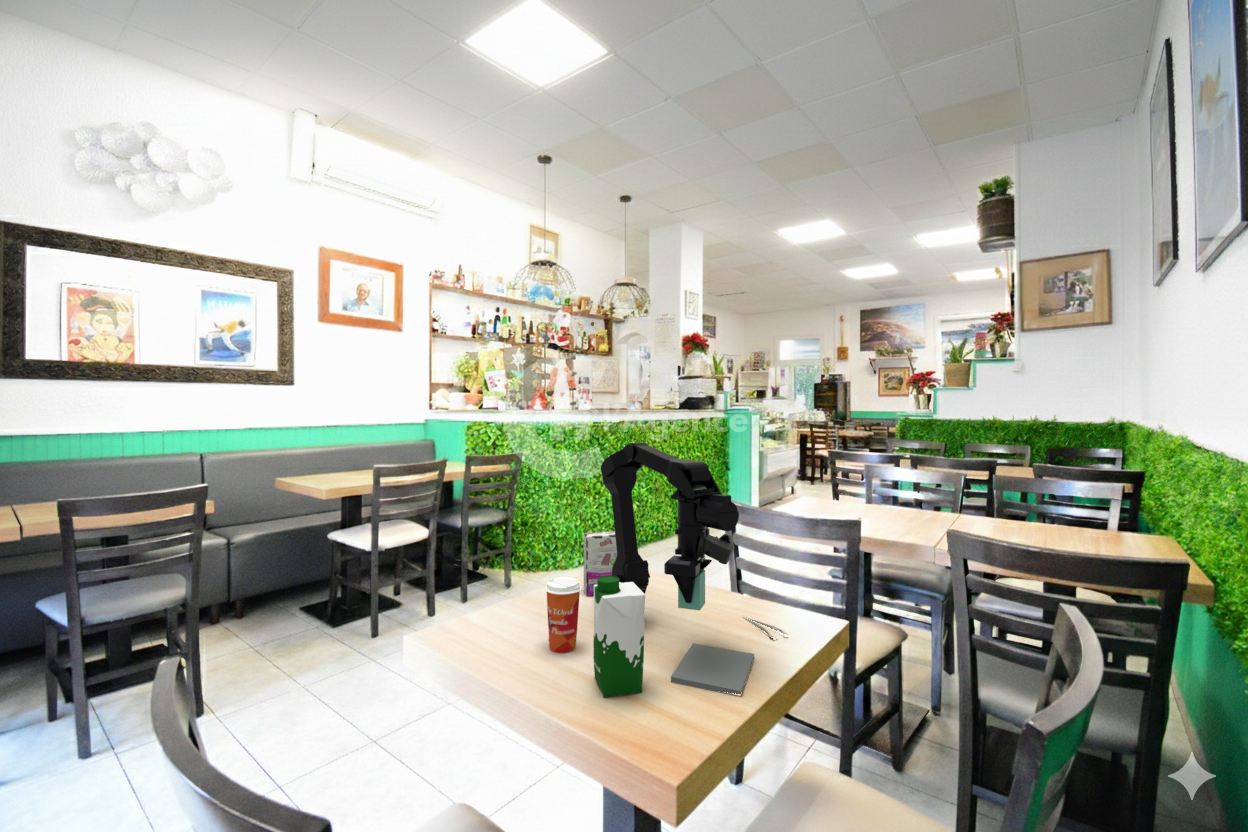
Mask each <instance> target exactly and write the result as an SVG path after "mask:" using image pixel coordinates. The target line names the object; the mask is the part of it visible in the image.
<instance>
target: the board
mask: <svg viewBox="0 0 1248 832" xmlns="http://www.w3.org/2000/svg"><path fill="white" fill-rule="evenodd" d="M753 660H754V661H755V653H751V652H748V651H747V652H746V651H741V650H735V649H728V648H724V647H718V646H712V645H708V644H707V645H706V644H702V643H696V642H692V643H691V645H690V647H689V648H688V649H687V651H686V653H685V654H684V656H683V657H682V659H681V660H680V662H679V664H678V665H677V667H676V668H675V670H674V671H673V673H672V675H671V676H670V683H674V684H678V685H679V684H680V685H683V686H688V687H694V688H698V689H704V690H707V691H711V692H712V691H713V692H717V691H718V692H717V693H721V692H726V693H727V692H728V693H734V694H735V693H736V694H741V692H742V693H743V691H744V689H743V687H744V688H745V686H744V684H745V685H746V683H745V682H747V680H748V678H747V676H748V677H749V675H750V672H749V671H751V669H752V667H751V665H752V666H753V664H752V662H753V663H754V661H753ZM750 668H751V669H750ZM748 674H749V675H748ZM746 679H747V680H746ZM742 690H743V691H742ZM719 691H720V692H719ZM726 693H725V694H726ZM741 695H742V694H741Z"/></svg>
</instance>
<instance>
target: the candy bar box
mask: <svg viewBox="0 0 1248 832" xmlns="http://www.w3.org/2000/svg"><path fill="white" fill-rule="evenodd" d="M616 557H617V546H616V537H615V530H614V531H599V532H598V531H597V532H585V533H583V592H584V594H585V596H586V597H594V585H597V579H598V578H599V577H602V576H612V567H613V564H614V562H615V560H616Z"/></svg>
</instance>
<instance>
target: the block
mask: <svg viewBox="0 0 1248 832" xmlns="http://www.w3.org/2000/svg"><path fill="white" fill-rule="evenodd" d="M700 570H701V571H702V573H701V574H700V575H699V576H698V577H696V579H695V585H694V591H693V597H692V602H691V603H686V602H685V599H684V597H683V595H682V593H681V591H680V588H679V586H678V585H677V606H678V607H677V608H679V609H685V610H693V611H701V610H702V608H703V607H704V606H705V604H706V569H704V570H703V569H700Z"/></svg>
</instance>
